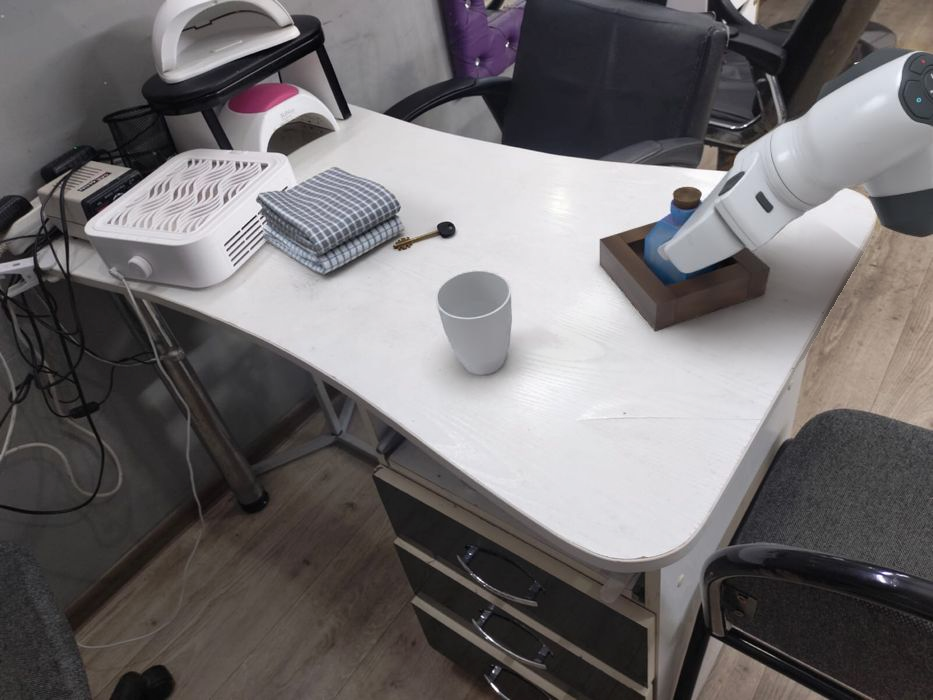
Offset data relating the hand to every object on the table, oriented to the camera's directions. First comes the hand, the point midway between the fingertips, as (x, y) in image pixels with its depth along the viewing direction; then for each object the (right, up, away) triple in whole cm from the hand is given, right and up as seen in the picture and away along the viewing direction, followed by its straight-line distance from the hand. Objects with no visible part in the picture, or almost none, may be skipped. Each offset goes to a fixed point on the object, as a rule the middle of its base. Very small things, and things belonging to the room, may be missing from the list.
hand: (678, 234), depth 81 cm
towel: (-45, +3, +22) cm, 50 cm away
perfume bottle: (+1, -5, +4) cm, 7 cm away
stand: (+1, -5, +4) cm, 6 cm away
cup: (-23, -15, -2) cm, 28 cm away
